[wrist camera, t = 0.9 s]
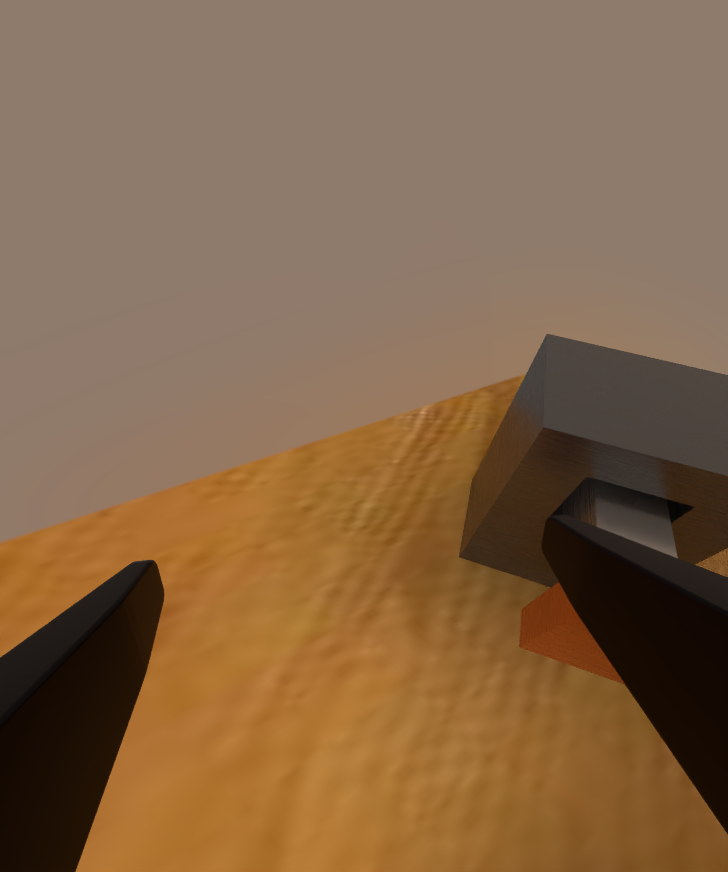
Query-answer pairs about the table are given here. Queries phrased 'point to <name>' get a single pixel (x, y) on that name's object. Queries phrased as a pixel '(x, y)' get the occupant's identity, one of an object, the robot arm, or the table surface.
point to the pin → (552, 612)
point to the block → (601, 452)
